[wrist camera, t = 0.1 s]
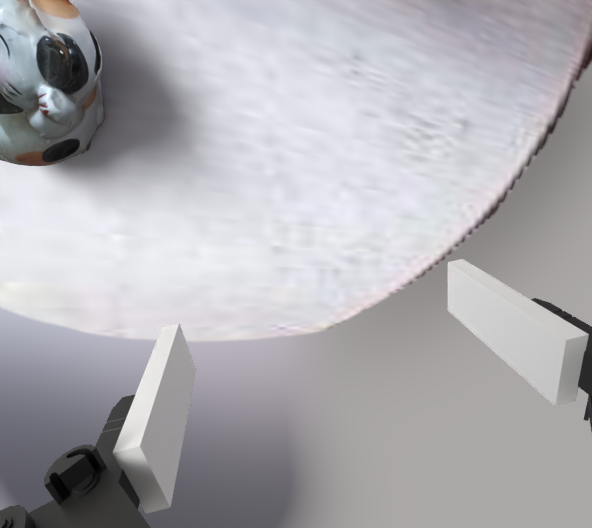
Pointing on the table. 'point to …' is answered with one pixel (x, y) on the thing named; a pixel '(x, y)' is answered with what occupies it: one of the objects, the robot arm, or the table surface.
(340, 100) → the table surface
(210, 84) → the table surface
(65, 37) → the lucky cat figurine
